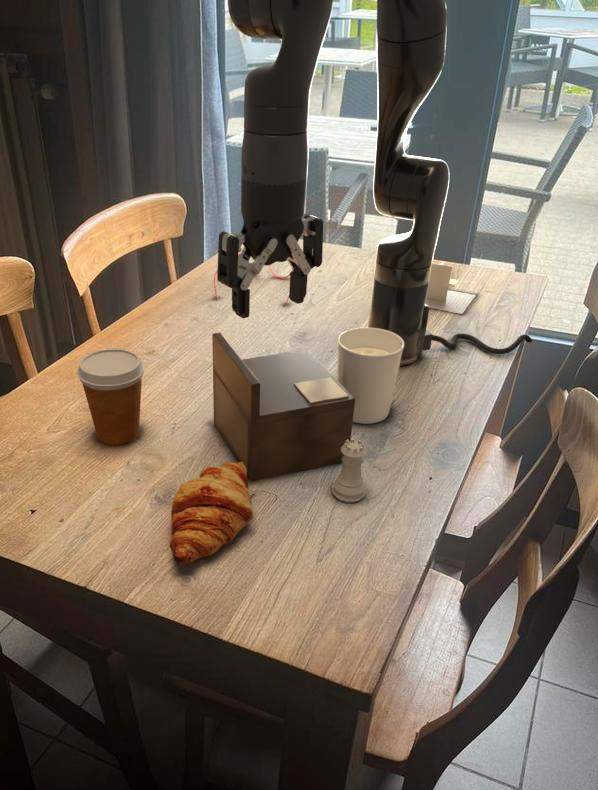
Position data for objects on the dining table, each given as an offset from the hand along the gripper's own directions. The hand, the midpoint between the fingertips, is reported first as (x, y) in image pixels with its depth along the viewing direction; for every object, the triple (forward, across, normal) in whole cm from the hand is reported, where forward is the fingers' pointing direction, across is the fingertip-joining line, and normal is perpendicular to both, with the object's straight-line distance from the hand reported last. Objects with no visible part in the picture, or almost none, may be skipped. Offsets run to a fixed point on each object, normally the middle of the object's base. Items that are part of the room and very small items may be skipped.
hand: (269, 308), depth 92 cm
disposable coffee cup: (+22, -15, +17) cm, 32 cm away
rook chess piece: (+22, +4, -14) cm, 27 cm away
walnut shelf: (+22, +4, +1) cm, 22 cm away
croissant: (+22, -14, -9) cm, 28 cm away
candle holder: (+22, +20, +1) cm, 30 cm away
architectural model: (+22, +64, +28) cm, 74 cm away
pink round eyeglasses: (+22, +37, +53) cm, 68 cm away
